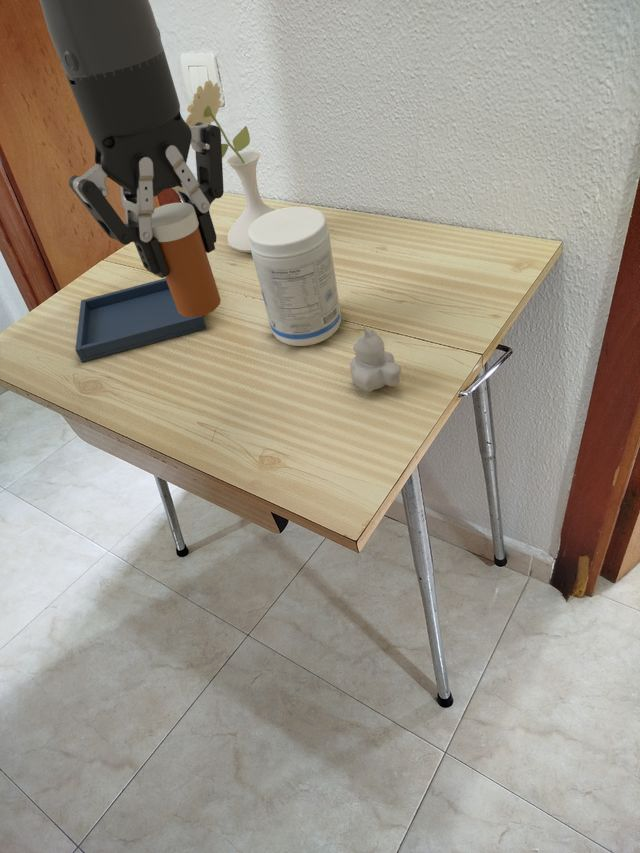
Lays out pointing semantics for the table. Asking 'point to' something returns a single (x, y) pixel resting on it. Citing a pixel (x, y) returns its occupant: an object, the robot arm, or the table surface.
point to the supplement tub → (296, 274)
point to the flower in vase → (232, 163)
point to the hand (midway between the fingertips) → (184, 261)
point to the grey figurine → (373, 363)
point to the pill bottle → (185, 259)
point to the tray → (130, 320)
